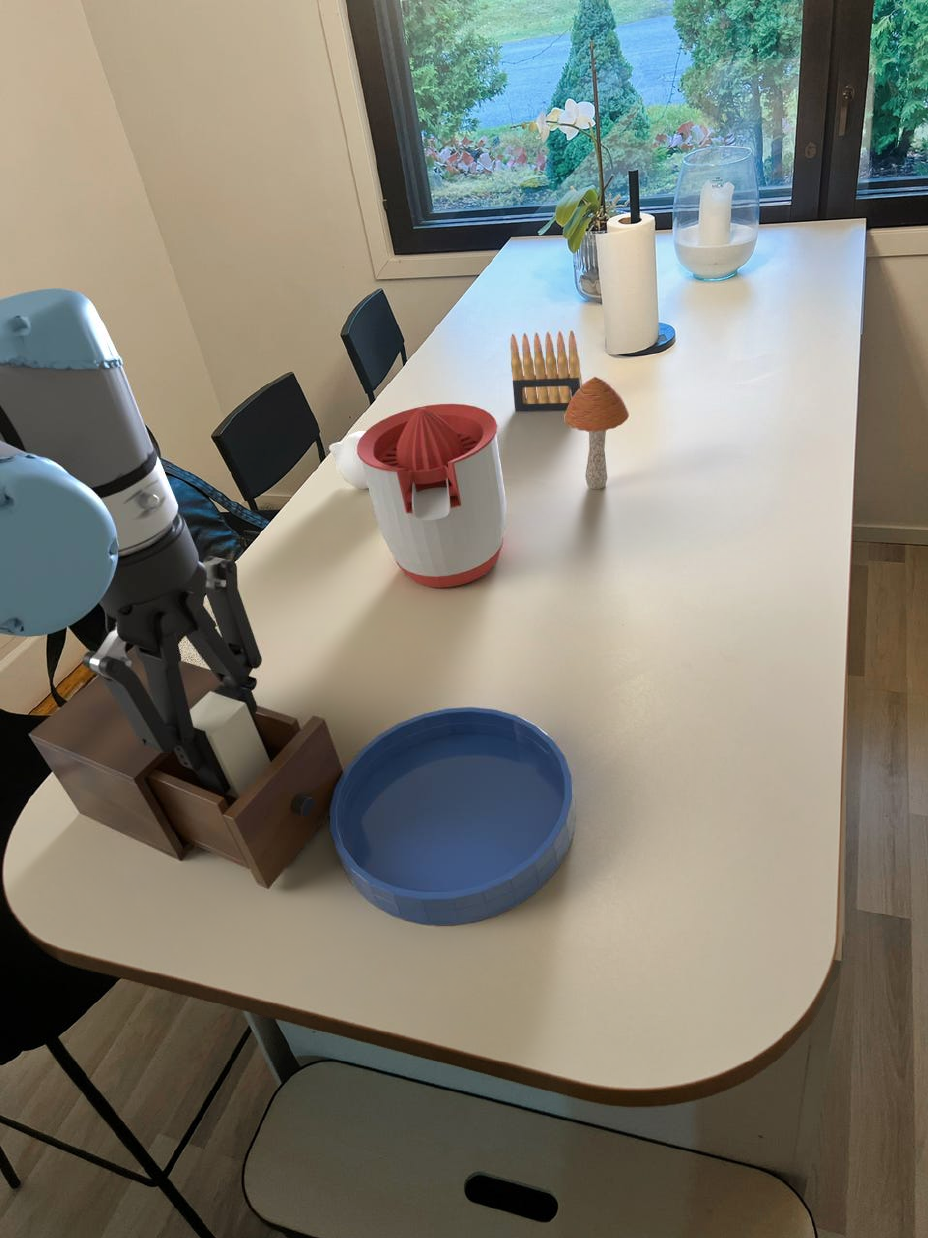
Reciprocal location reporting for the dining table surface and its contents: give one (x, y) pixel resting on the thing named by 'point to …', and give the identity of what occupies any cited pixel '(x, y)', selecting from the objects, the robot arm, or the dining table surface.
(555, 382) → the ammunition clip
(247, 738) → the block
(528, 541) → the dining table surface
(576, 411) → the mushroom
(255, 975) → the dining table surface
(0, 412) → the robot arm
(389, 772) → the bowl
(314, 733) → the drawer
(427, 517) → the citrus juicer
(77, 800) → the cabinet
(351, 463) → the cat figurine
